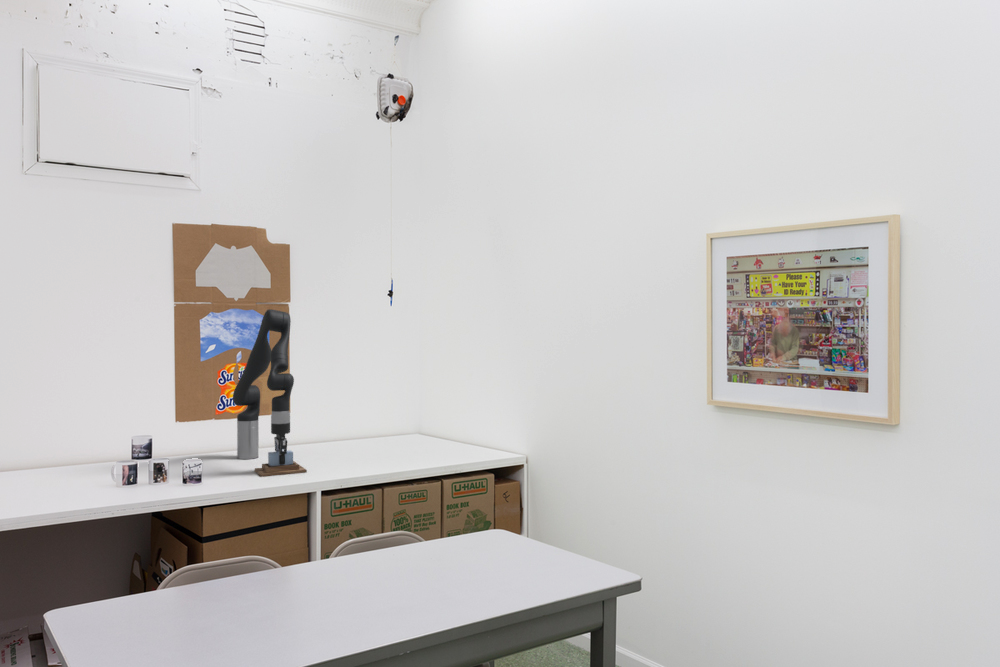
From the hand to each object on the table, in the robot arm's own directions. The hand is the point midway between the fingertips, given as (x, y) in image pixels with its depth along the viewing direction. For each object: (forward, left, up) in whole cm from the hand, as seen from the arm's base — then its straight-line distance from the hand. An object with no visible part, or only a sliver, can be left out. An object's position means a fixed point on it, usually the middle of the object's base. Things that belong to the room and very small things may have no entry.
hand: (280, 463), depth 290 cm
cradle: (0, 0, -4) cm, 4 cm away
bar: (0, 0, -1) cm, 1 cm away
